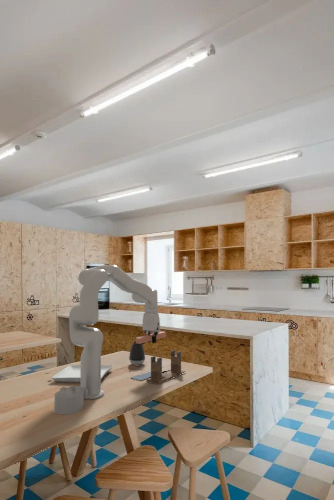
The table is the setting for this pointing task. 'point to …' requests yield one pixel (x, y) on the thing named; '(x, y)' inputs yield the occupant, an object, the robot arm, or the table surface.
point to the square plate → (76, 373)
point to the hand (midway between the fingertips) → (151, 342)
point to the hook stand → (175, 371)
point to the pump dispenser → (137, 354)
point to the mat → (142, 376)
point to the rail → (149, 337)
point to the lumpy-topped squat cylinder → (69, 400)
